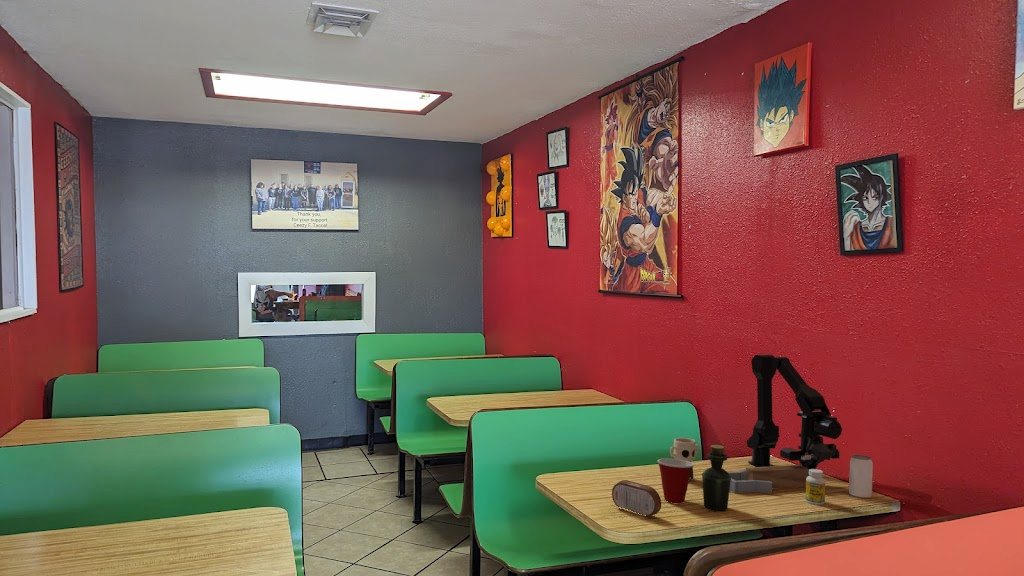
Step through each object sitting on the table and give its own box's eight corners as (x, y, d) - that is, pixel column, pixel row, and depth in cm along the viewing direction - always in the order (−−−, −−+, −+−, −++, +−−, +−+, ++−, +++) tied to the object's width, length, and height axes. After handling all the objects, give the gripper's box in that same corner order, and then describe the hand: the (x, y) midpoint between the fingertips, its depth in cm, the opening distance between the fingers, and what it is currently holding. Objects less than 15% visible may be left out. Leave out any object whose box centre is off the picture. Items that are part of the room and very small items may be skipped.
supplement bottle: (823, 500, 215) (824, 469, 215) (826, 506, 210) (827, 474, 209) (804, 498, 216) (805, 467, 216) (806, 504, 211) (807, 472, 211)
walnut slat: (745, 486, 228) (745, 467, 228) (799, 483, 232) (800, 464, 232) (752, 489, 224) (752, 471, 224) (807, 486, 229) (808, 468, 228)
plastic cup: (697, 499, 213) (698, 459, 213) (687, 509, 204) (688, 468, 204) (662, 492, 219) (664, 454, 218) (651, 502, 209) (652, 462, 209)
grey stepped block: (746, 479, 235) (746, 468, 235) (773, 493, 220) (773, 482, 220) (713, 480, 232) (714, 470, 232) (738, 495, 218) (738, 484, 217)
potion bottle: (695, 507, 205) (697, 446, 205) (709, 501, 211) (711, 441, 211) (721, 514, 200) (723, 451, 199) (735, 508, 206) (736, 446, 205)
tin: (661, 518, 196) (662, 488, 196) (655, 521, 194) (656, 490, 194) (615, 505, 206) (616, 476, 206) (609, 507, 204) (610, 478, 204)
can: (869, 499, 217) (870, 461, 216) (846, 495, 220) (847, 457, 220) (873, 494, 222) (874, 456, 221) (851, 490, 226) (852, 453, 225)
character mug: (675, 483, 228) (677, 443, 228) (663, 477, 235) (664, 438, 235) (704, 480, 232) (705, 441, 232) (691, 474, 239) (692, 436, 239)
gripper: (801, 438, 221) (799, 488, 222) (852, 436, 226) (850, 485, 226) (779, 430, 232) (778, 477, 233) (828, 428, 237) (827, 475, 237)
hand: (809, 479), depth 232 cm, fingers closed
